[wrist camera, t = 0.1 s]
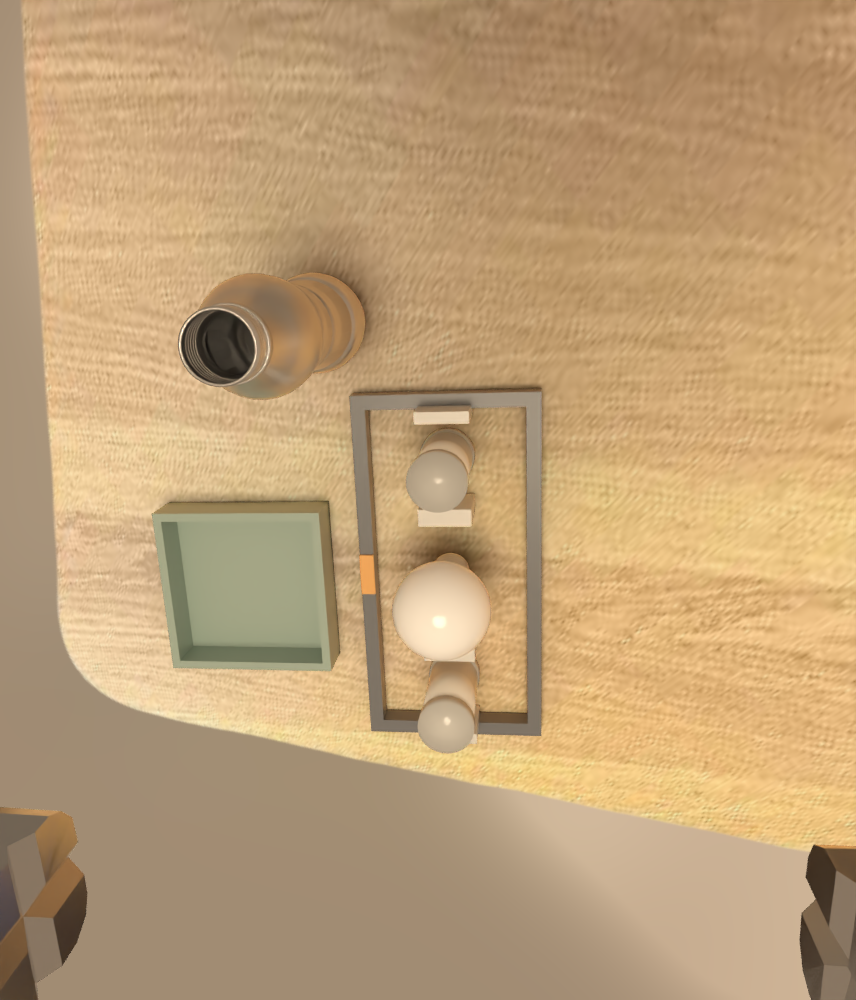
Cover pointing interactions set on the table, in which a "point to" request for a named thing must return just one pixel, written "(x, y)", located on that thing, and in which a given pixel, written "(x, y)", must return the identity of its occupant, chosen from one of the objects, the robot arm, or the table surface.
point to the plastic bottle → (271, 333)
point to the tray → (248, 584)
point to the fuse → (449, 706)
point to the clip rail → (447, 411)
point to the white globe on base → (441, 471)
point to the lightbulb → (442, 609)
